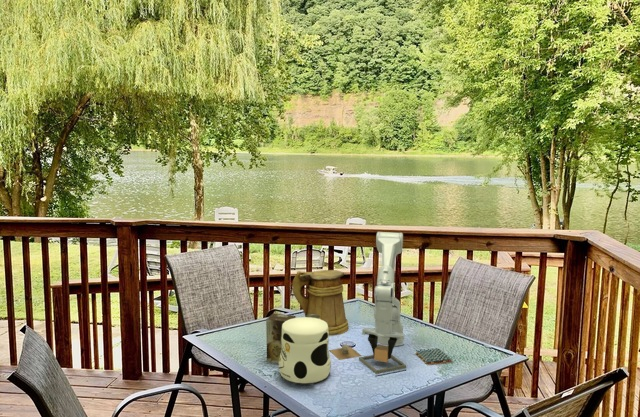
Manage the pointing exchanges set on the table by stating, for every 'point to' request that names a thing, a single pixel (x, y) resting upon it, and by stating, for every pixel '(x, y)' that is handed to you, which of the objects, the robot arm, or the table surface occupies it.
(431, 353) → the woven mat
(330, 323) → the tankard
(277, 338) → the coffee box
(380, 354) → the orange cube
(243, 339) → the table surface
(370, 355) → the tray
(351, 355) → the post base
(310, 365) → the milk container
